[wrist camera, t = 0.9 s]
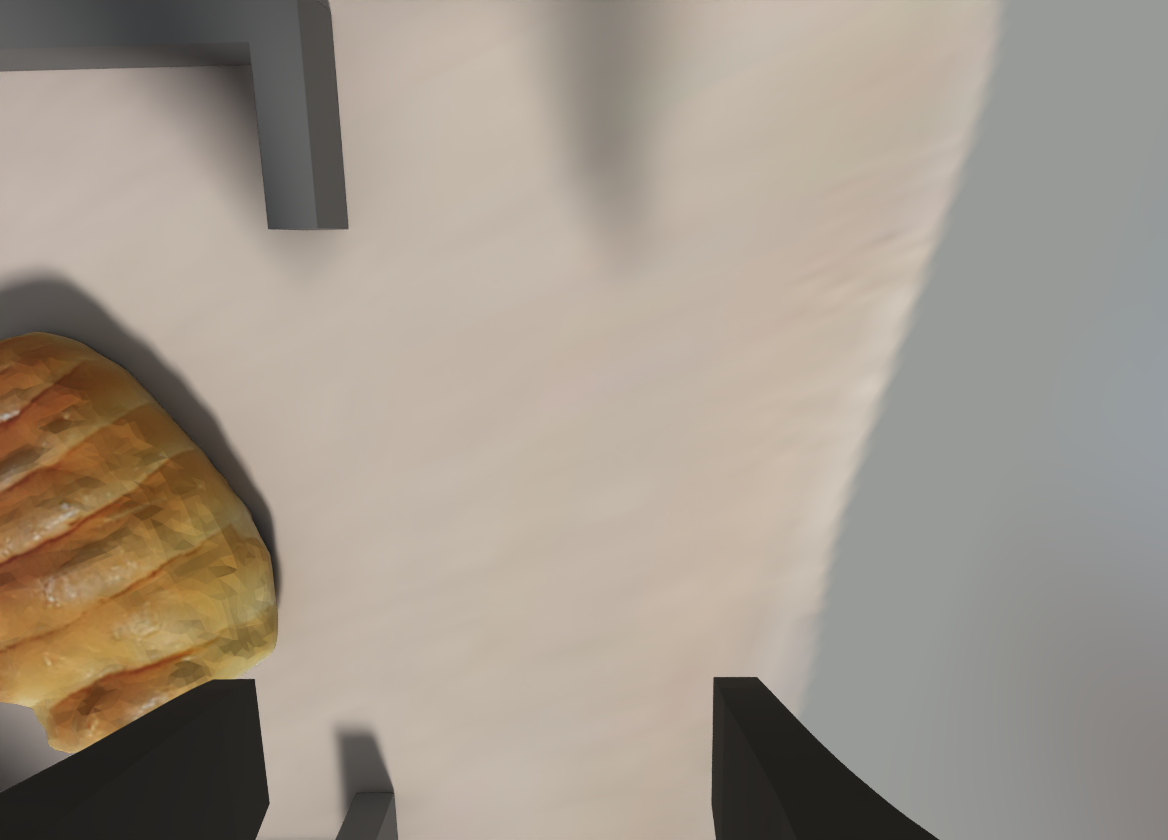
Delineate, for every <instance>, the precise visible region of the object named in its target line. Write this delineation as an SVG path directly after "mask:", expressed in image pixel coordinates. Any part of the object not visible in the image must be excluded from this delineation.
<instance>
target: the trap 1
mask: <svg viewBox="0 0 1168 840" xmlns="http://www.w3.org/2000/svg"><path fill="white" fill-rule="evenodd" d="M219 65H252V75H253V84H254V94H255V104H256V114H257V124H258V133H259V143H260V153H261V163H262V173H263V182H264V192H265V202H266V212H267V222H268V229H282V230H332V229H348V219H347V207H346V194H345V182H344V170H343V157H342V145H341V133H340V120H339V108H338V96H337V83H336V71H335V59H334V46H333V34H332V22H331V12H330V11H329V10H328V9H326V8H325V7H324V6H323V5H322V4H320V3H319V2H318V1H317V0H0V71H34V70H71V69H108V68H145V67H182V66H219Z"/></svg>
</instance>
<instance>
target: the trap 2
mask: <svg viewBox="0 0 1168 840" xmlns="http://www.w3.org/2000/svg"><path fill="white" fill-rule="evenodd" d="M336 840H398V836H397V823H396V811H395V799H394V793H356V795H355V798H354V800H353V802H352V804H351V806H350V809H349V811H348V813H347V815H346V818H345V820H344V822H343V824H342V826H341V829H340V831H339V833H338V835H337V838H336Z"/></svg>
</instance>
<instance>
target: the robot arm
mask: <svg viewBox="0 0 1168 840" xmlns="http://www.w3.org/2000/svg"><path fill="white" fill-rule="evenodd" d="M269 804H270V803H269V795H268V786H267V778H266V770H265V761H264V753H263V745H262V736H261V728H260V720H259V711H258V703H257V695H256V687H255V679H213V680H211V681H208V682H206V683H204V684H201V685H199V686H197V687H195V688H193V689H191V690H189V691H187V692H185V693H183V694H181V695H179V696H178V697H176V698H174V699H172V700H170V701H168V702H166V703H165V704H163V705H161V706H159V707H157V708H156V709H154V710H152V711H150V712H149V713H147V714H145V715H143V716H141V717H140V718H138V719H136V720H134V721H133V722H131V723H129V724H127V725H126V726H124V727H122V728H120V729H118V730H117V731H115V732H113V733H111V734H110V735H108V736H106V737H104V738H102V739H101V740H99V741H97V742H95V743H94V744H92V745H90V746H88V747H86V748H85V749H83V750H81V751H79V752H77V753H76V754H74V755H72V756H70V757H68V758H66V759H64V760H62V761H60V762H59V763H57V764H55V765H53V766H51V767H49V768H47V769H45V770H43V771H41V772H40V773H38V774H36V775H34V776H32V777H30V778H28V779H26V780H24V781H22V782H20V783H19V784H17V785H15V786H13V787H11V788H9V789H7V790H5V791H3V792H1V793H0V840H255V839H256V837H257V834H258V832H259V829H260V827H261V824H262V822H263V819H264V816H265V814H266V811H267V809H268V806H269ZM712 811H713V819H714V827H715V834H716V840H939V839H937V838H936V837H935V836H933V835H932V834H930V833H929V832H928V831H926V830H925V829H923V828H921V827H920V826H919V825H917V824H916V823H915V822H913V821H912V820H911V819H909V818H908V817H906V816H905V815H904V814H902V813H901V812H900V811H899V810H897V809H896V808H895V807H893V806H892V805H891V804H890V803H888V802H887V801H886V800H885V799H883V798H882V797H881V796H880V795H879V794H877V793H876V792H875V791H874V790H873V789H872V788H870V787H869V786H868V785H867V784H866V783H864V782H863V781H862V780H861V779H860V778H858V777H857V776H856V775H855V774H854V773H853V772H851V771H850V770H849V769H848V768H847V767H846V766H845V765H844V764H843V763H841V762H840V761H839V760H838V759H837V758H836V757H835V756H834V755H833V754H832V753H831V752H830V751H829V750H828V749H827V748H825V747H824V746H823V745H822V744H821V743H820V742H819V741H818V740H817V739H816V738H815V737H814V736H813V735H812V734H811V733H810V732H809V731H808V730H807V729H806V728H805V727H804V726H803V725H802V724H801V723H800V722H799V721H798V719H797V718H796V717H795V716H794V715H793V714H792V713H791V712H790V711H789V710H788V709H787V708H786V707H785V706H784V705H783V704H782V703H781V702H780V701H779V699H778V698H777V697H776V696H775V695H774V694H773V693H772V692H771V691H770V690H769V689H768V688H767V687H766V686H765V685H764V684H763V683H762V682H761V681H760V680H759V679H758V678H757V677H714V685H713V746H712Z"/></svg>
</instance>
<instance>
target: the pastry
mask: <svg viewBox="0 0 1168 840" xmlns="http://www.w3.org/2000/svg"><path fill="white" fill-rule="evenodd" d="M277 635H278V611H277V604H276V596H275V589H274V580H273V571H272V563H271V557H270V553H269V551H268V550H267V548H266V546H265V544H264V542H263V540H262V539H261V537H260V535H259V533H258V530H257V528H256V526H255V524H254V522H253V520H252V514H251V512H250V511H249V510H248V508H247V507H246V506H245V505H244V503H243V502H242V501H241V500H240V499H239V497H238V496H237V495H236V494H235V493H234V492H233V490H232V489H231V488H230V486H229V484H228V482H227V481H226V480H225V478H224V477H223V475H221V474H220V473H219V472H218V471H217V470H216V469H215V468H214V466H213V465H212V463H211V462H210V460H209V459H208V457H207V456H206V455H205V454H204V452H203V451H202V450H201V449H200V448H199V447H198V446H197V445H196V444H195V443H194V442H193V441H192V440H191V439H190V438H189V437H188V436H187V435H186V434H185V433H184V431H183V430H182V429H181V428H180V427H179V426H178V425H177V424H176V423H175V422H174V421H173V419H172V418H171V417H170V416H169V414H168V413H167V412H166V411H165V410H164V409H163V407H162V406H161V405H160V404H159V403H158V402H157V401H156V400H155V399H154V398H153V397H152V396H151V395H150V394H149V393H148V391H147V390H146V389H144V388H143V387H142V386H141V385H140V384H139V382H138V381H137V380H136V379H135V378H134V377H133V376H132V375H131V374H130V373H129V372H128V371H127V370H126V369H124V368H123V367H121V366H120V365H118V364H116V363H115V362H113V361H111V360H109V359H107V358H106V357H104V356H102V355H100V354H99V353H97V352H96V351H94V350H93V349H91V348H90V347H88V346H87V345H85V344H84V343H81V342H79V341H77V340H74V339H71V338H68V337H64V336H60V335H55V334H50V333H45V332H31V333H26V334H23V335H20V336H16V337H11V338H6V339H2V340H0V702H4V703H13V704H18V705H22V706H26V707H29V708H32V710H33V711H34V713H35V715H36V717H37V719H38V721H39V722H40V723H41V725H42V726H43V727H44V729H45V731H46V733H47V741H48V744H49V746H51V747H52V748H54V749H55V750H59V751H64V752H66V753H75V752H79V751H81V750H83V749H85V748H86V747H88V746H90V745H92V744H94V743H95V742H97V741H99V740H101V739H102V738H104V737H106V736H108V735H110V734H111V733H113V732H115V731H117V730H118V729H120V728H122V727H124V726H126V725H127V724H129V723H131V722H133V721H134V720H136V719H138V718H140V717H141V716H143V715H145V714H147V713H149V712H150V711H152V710H154V709H156V708H157V707H159V706H161V705H163V704H165V703H166V702H168V701H170V700H172V699H174V698H176V697H178V696H179V695H181V694H183V693H185V692H187V691H189V690H191V689H193V688H195V687H197V686H199V685H201V684H204V683H206V682H208V681H211V680H213V679H237V678H239V677H240V676H242V675H243V674H244V673H246V672H247V671H248V670H249V669H251V668H252V667H254V666H255V665H256V664H258V663H261V662H263V661H264V660H265V659H266V658H267V657H268V656H269V655H270V654H271V652H272V651H273V650H274V648H275V646H276V642H277Z"/></svg>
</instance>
